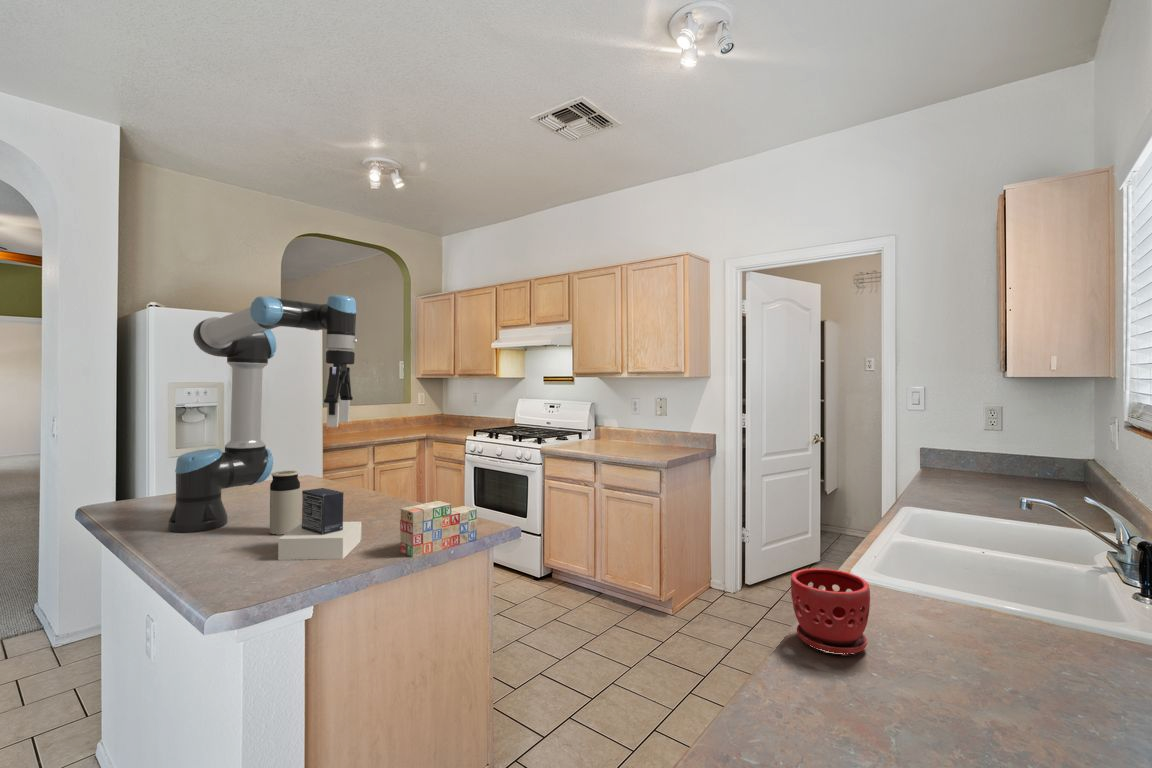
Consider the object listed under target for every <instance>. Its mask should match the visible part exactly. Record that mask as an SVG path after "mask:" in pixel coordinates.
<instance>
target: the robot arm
mask: <svg viewBox="0 0 1152 768" xmlns="http://www.w3.org/2000/svg"><path fill="white" fill-rule="evenodd" d="M356 320H357V303H356V299H355V298H354V297H352V296H349V295H338V294H335V295H329V296H328V297H327V301H326V303H313V302H306V301H300V300H299V301H298V300H291V299H287V298H277V297H273V296H257V297H255V298H254V300H253V301H252V302H251V303H250V307H246V308H243V309H241V310H238V311H236V312H233V313H231V314H227V315H225V316H223V317H218V316H217V317H216V316H213V317H208V318H206V319H203V320H202V321H200V322H198V323H197V325H196V326H195V327H194V330H193V340H194V343H195V345H196V346H197V347H198V349H199V350H200V351H202V352H204V353H206V354H207V355H210V356H215V357H221V358H222V357H223V358H226V363H227V364H228V366H229V367H231V368H232V369H231V371H232V372H231V373H232V374H231V400H230V401H231V409H230V410H231V411H230V412H231V413H230V439H229V441H227V443H226V444H225V445H224V452H223V451H222V450H221V448H206V449H198V450H194V451H188V452H186V453H183V454H181V455H180V456H179V457H177V459H176V465H175V466H176V467H175V470H174V472H175V505H174V507H173V510H172V511H171V515H170V518H169V520H168V524H167V525H168V527H167V528H168V529H167V530H168V531H170V532H174V533H195V532H203V531H207V530H208V531H210V530H214V529H218V528H221V527H223V526H225V525H227V524H228V519H229V518H228V513H227V511H226V508H225V505H224V503H223V501H222V489H223V490H224V489H230V488H235V487H242V486H243V487H245V486H253V485H254V484H259V483H263V482H264V481H266V480H267V479H268V478H269V476H270V475H271V474H272V471H273V467H274V466H273V465H274V456H273V455H272V454H273V453H272V452H271V450H270V449H268V448H266V443H265V442H264V441H262V439H261V435H262V430H261V429H262V399H263V398H262V397H263V369H264V368H265V367H266V366H268V365H269V360H270V359H273V357H275V354H276V351H277V340H276V337H275V334H274V332H273V331H272V329H276V328H278V327H286V328H288V327H289V328H296V329H306V330H310V331H322V330H323V331H325V330H326V339H325V340H326V341H325V348H326V349H327V350H326V351H325V363H326V364H329V365H330V364H332V366H329V368H328V370H329V371H328V372H329V373H328V380H327V384H326V385H327V386H326V391H325V392H326V393H325V397H324V399H323V403H324V404H327V405H326V406H327V407H326V408H327V410H326V411H327V412H326V428H338V427H339V423H349V422H350V403H351V401H353V396H352V388H351V375H350V374H351V372H350V371H351V368H350V367H348V366H347V365H354V364H355V360H356V359H355V355H356V352H354V350H355V349H356V347H355V346H356V343H358V340H357V339H356V326H357V324H356ZM339 397H340V399H339ZM338 400H339V402H338Z"/></svg>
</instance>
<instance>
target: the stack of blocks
mask: <svg viewBox="0 0 1152 768" xmlns="http://www.w3.org/2000/svg"><path fill="white" fill-rule="evenodd" d="M477 511H478V510H477V508H474V507H471V506H470V507H469V506H466V505H461V506H458V507H452V503H448V502H445V501H440V500H436V501H431V502H426V503H421V504H417V505H411V506H406V507H401V508H400V521H399V524H400V525H399V529H400V537H399V538H400V544H399V545H400V547H399V550H400V553H401V552H402V554H403V553H404V555H406V556H408V557H412V558H415V557H419V556H422V555H427V554H431V553H434V552H438V551H441V550H445V549H448V547H449V548H452V547H456V546H459V545H462V544H466V542H467V543H470V541H471V542H474V541H477V540H478V539H477V537H478V536H477V535H478V534H477V533H478V532H477V529H478V527H477V526H478V518H477V516H478V514H477V513H478V512H477ZM455 545H456V546H455Z"/></svg>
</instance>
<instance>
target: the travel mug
mask: <svg viewBox="0 0 1152 768" xmlns="http://www.w3.org/2000/svg"><path fill="white" fill-rule="evenodd" d="M299 474H300V471H298V470H280V471H274V472H271V473H270V475H271V476H272V477H271V478H272V481H271V482H270V485H269V533H270V534H272V535H274V534H276V536H283V535H282V534H287V533H288V532H290V531H291V530H293V529H294V528H296V527H297V526H299V525H300V524H301V523H300V518H301V516H300V514H301V513H300V512H301V510H300V508H301V507H300V506H301V481H300V480H299Z"/></svg>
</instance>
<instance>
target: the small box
mask: <svg viewBox="0 0 1152 768" xmlns="http://www.w3.org/2000/svg"><path fill="white" fill-rule="evenodd" d="M301 492H302V493H301V494H302V496H301V497H302V502H301V503H302V504H301V505H302V508H301V511H302V512H301V524H302V529H306V530H309V531H312V532H316V533H319V534H326V533H330V532H335V531H339V530H343V522H344V492H343V491H340V490H339V491H338V490H333V489H330V488H325V487H321V488H314V489H313V488H311V489H305V490H302V491H301Z"/></svg>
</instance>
